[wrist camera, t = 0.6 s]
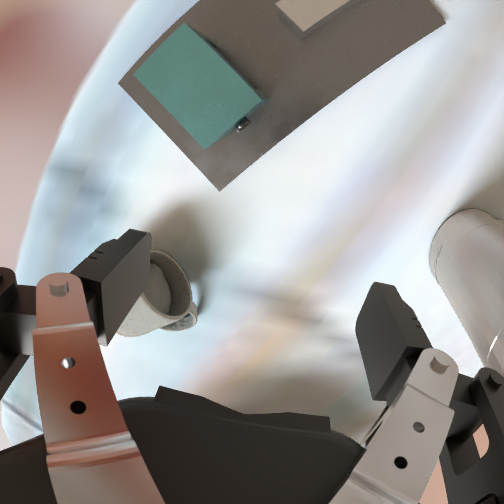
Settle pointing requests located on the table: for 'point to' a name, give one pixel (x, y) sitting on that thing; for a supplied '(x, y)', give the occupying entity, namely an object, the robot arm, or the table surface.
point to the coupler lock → (199, 86)
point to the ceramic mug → (161, 300)
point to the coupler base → (286, 64)
